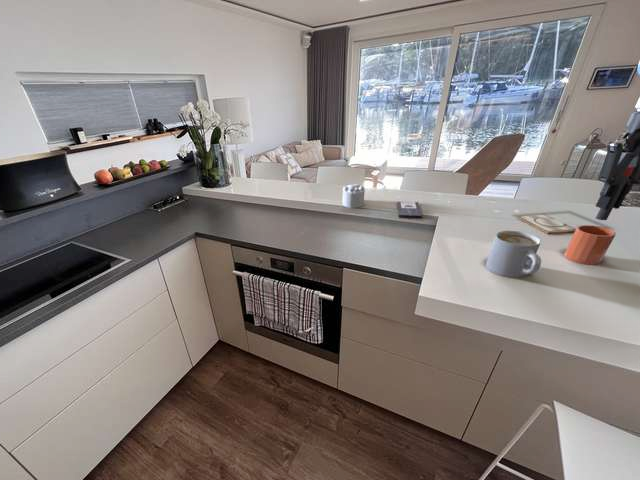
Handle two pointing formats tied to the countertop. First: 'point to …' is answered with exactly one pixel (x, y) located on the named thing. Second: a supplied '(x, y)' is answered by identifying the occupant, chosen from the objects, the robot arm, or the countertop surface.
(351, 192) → the lumpy-topped squat cylinder
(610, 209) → the marker
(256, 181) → the countertop surface
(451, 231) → the countertop surface
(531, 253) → the coffee mug
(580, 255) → the pen cup
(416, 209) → the chocolate bar
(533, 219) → the sketch pad
